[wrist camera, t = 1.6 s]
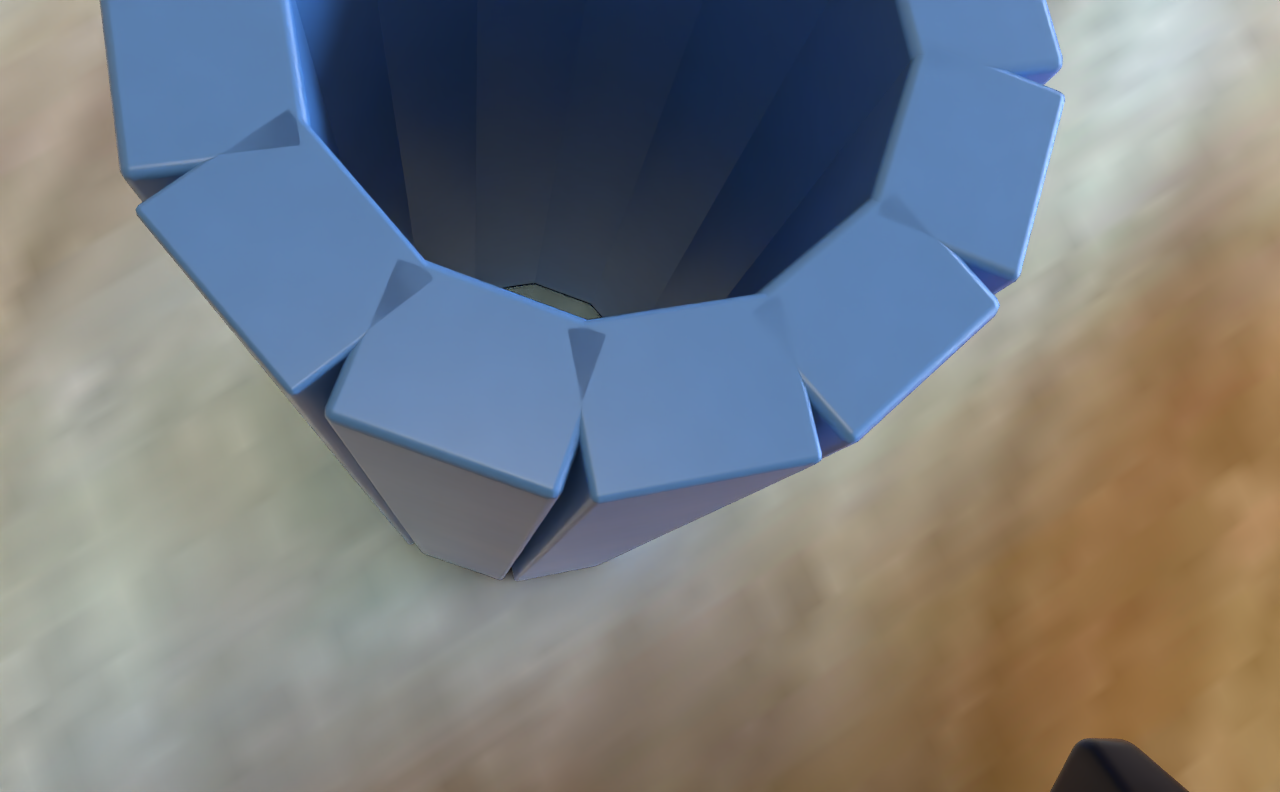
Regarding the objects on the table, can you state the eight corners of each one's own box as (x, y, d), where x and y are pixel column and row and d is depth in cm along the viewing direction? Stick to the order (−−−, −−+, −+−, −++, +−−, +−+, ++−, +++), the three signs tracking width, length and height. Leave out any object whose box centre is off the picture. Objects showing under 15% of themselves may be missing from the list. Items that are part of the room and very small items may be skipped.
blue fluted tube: (635, 626, 21) (932, 633, 7) (282, 504, 20) (-93, 270, 7) (742, 298, 23) (1140, -181, 9) (419, 177, 22) (338, -520, 9)
